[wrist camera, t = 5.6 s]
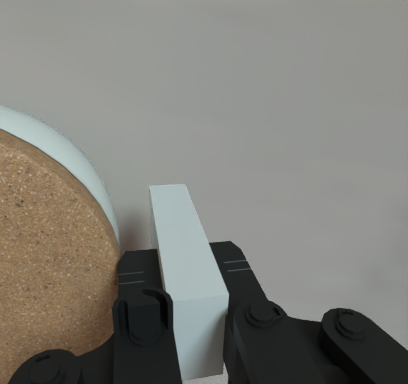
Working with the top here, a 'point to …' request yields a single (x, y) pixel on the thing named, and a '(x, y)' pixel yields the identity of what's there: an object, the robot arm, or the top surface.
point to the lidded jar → (52, 245)
